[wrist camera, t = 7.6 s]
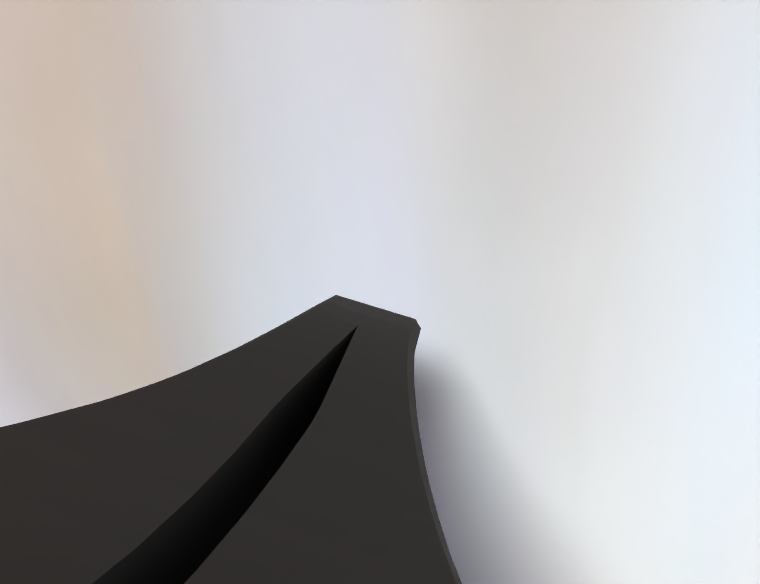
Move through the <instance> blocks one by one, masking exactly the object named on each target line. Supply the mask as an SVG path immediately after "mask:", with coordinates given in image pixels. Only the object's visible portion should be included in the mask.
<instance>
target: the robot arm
mask: <svg viewBox="0 0 760 584" xmlns="http://www.w3.org/2000/svg"><path fill="white" fill-rule="evenodd" d="M420 330H421V328H420V326H419V325H418V323H417V321H416V319H413V318H410V317H407V316H403V315H400V314H397V313H393V312H390V311H387V310H384V309H380V308H377V307H374V306H370V305H367V304H364V303H361V302H357V301H354V300H351V299H347V298H344V297H341V296H338V295H335V296H333V297H331V298H329V299H327V300H325V301H324V302H322V303H320V304H318V305H316V306H314V307H312V308H311V309H309V310H307V311H305V312H303V313H302V314H300V315H298V316H296V317H295V318H293V319H291V320H289V321H287V322H286V323H284V324H282V325H280V326H278V327H276V328H275V329H273V330H271V331H269V332H267V333H265V334H263V335H261V336H259V337H257V338H255V339H253V340H252V341H250V342H248V343H246V344H244V345H242V346H240V347H238V348H236V349H234V350H232V351H229V352H227V353H225V354H223V355H221V356H218V357H216V358H214V359H212V360H210V361H207V362H205V363H203V364H201V365H199V366H196V367H194V368H192V369H190V370H187V371H185V372H182V373H180V374H177V375H175V376H173V377H170V378H167V379H165V380H162V381H159V382H157V383H154V384H151V385H148V386H145V387H142V388H139V389H137V390H134V391H131V392H128V393H125V394H122V395H119V396H116V397H113V398H110V399H106V400H103V401H100V402H97V403H93V404H89V405H85V406H81V407H78V408H74V409H70V410H66V411H63V412H59V413H55V414H51V415H48V416H44V417H40V418H36V419H33V420H29V421H25V422H21V423H17V424H13V425H8V426H4V427H0V584H461V581H460V579H459V576H458V574H457V571H456V569H455V566H454V563H453V561H452V558H451V555H450V553H449V550H448V546H447V543H446V540H445V537H444V534H443V531H442V527H441V524H440V521H439V518H438V515H437V511H436V507H435V504H434V500H433V496H432V493H431V489H430V485H429V480H428V476H427V472H426V467H425V462H424V457H423V452H422V446H421V440H420V435H419V428H418V420H417V412H416V400H415V388H414V354H415V349H416V345H417V341H418V337H419V333H420Z"/></svg>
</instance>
